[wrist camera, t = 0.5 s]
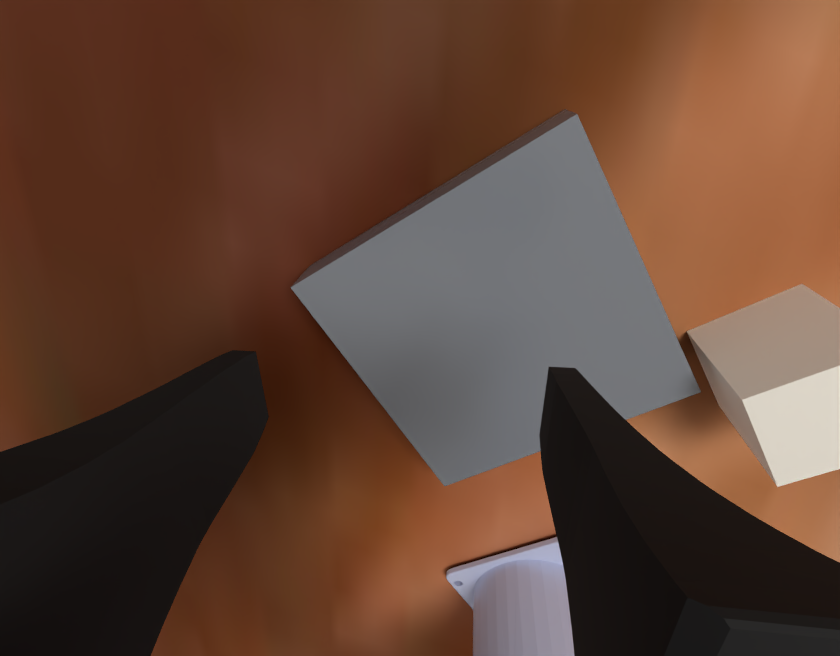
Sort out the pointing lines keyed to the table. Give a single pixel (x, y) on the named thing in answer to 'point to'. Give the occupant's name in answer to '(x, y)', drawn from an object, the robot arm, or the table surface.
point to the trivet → (499, 304)
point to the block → (779, 380)
